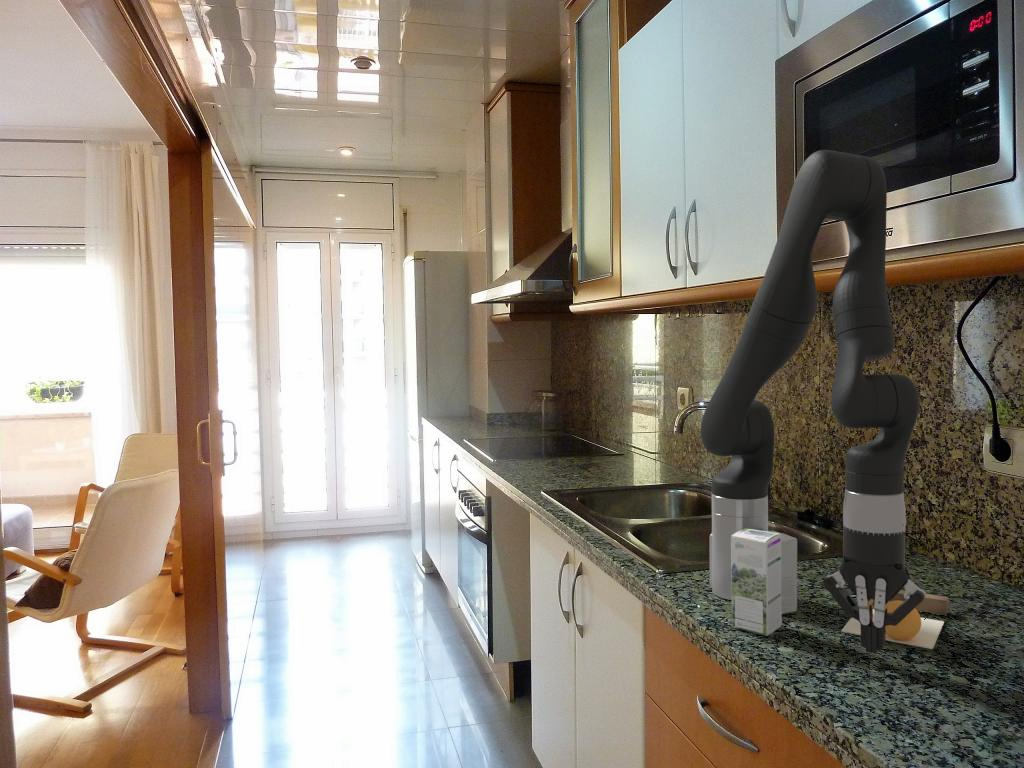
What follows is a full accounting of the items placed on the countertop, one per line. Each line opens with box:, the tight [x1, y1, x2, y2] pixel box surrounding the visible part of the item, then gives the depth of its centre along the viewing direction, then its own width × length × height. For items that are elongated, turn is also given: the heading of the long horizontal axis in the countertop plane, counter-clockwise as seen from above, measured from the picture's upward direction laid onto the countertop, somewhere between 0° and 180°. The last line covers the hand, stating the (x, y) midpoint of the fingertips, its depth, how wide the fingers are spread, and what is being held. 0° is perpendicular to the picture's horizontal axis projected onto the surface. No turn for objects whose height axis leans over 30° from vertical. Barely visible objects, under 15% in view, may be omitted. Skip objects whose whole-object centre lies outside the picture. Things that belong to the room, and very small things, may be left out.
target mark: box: [841, 608, 945, 650], centre depth 116 cm, size 12×12×1 cm
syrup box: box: [731, 529, 783, 637], centre depth 117 cm, size 6×6×14 cm
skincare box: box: [766, 530, 798, 615], centre depth 125 cm, size 6×4×12 cm
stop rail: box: [872, 589, 949, 617], centre depth 124 cm, size 12×2×2 cm, turn 54°
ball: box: [886, 600, 922, 640], centre depth 112 cm, size 6×6×6 cm
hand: (873, 651), depth 104 cm, fingers closed
